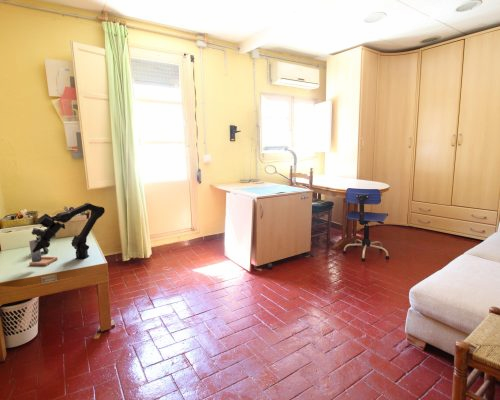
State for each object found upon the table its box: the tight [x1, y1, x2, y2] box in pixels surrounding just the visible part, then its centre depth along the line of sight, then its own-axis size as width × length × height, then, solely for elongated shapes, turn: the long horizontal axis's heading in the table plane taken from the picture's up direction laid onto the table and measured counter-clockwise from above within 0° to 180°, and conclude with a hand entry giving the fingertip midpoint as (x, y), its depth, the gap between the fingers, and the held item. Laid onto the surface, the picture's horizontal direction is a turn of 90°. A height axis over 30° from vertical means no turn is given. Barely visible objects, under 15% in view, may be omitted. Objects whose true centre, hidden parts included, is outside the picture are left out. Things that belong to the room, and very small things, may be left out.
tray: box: [28, 256, 59, 267], centre depth 195 cm, size 11×11×2 cm
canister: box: [28, 239, 42, 262], centre depth 183 cm, size 5×5×13 cm
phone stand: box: [35, 236, 50, 256], centre depth 211 cm, size 9×6×12 cm, turn 118°
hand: (32, 250), depth 182 cm, fingers closed on canister, 5 cm apart
